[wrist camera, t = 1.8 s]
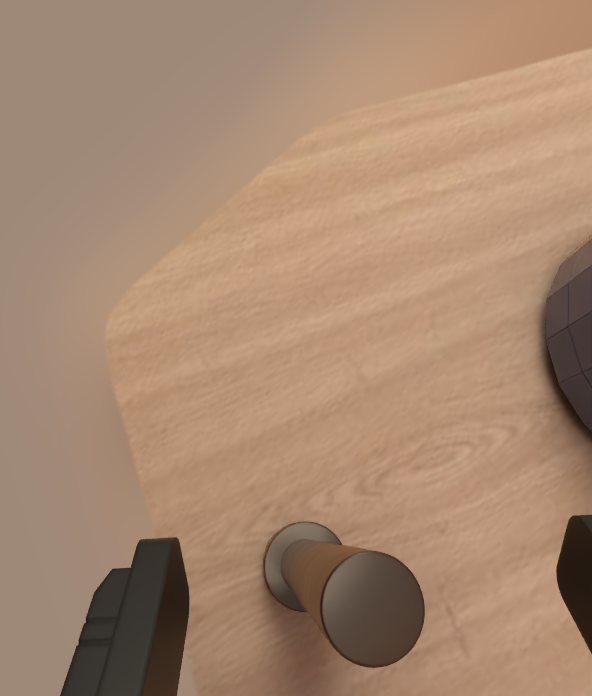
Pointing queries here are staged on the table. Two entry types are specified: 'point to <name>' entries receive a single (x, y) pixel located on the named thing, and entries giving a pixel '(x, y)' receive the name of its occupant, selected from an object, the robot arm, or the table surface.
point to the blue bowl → (573, 329)
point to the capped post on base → (346, 593)
